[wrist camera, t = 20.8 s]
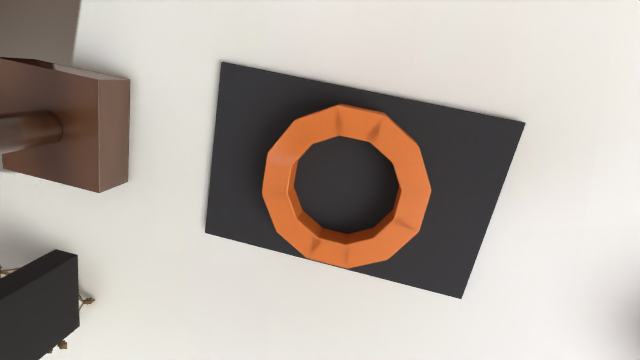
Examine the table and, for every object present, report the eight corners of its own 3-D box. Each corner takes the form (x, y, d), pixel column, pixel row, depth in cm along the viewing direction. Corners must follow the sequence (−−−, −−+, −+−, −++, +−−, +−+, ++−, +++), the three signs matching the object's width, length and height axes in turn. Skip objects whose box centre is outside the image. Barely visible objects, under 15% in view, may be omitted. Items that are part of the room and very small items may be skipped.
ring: (261, 234, 27) (253, 244, 25) (283, 91, 23) (275, 92, 22) (402, 270, 26) (403, 283, 24) (445, 125, 22) (450, 128, 21)
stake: (40, 160, 29) (-104, 193, 20) (34, 59, 26) (-133, 48, 18) (128, 181, 28) (16, 226, 19) (130, 79, 26) (4, 78, 17)
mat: (207, 230, 28) (204, 232, 28) (223, 62, 24) (221, 61, 24) (460, 296, 26) (461, 299, 25) (523, 122, 22) (525, 123, 21)
